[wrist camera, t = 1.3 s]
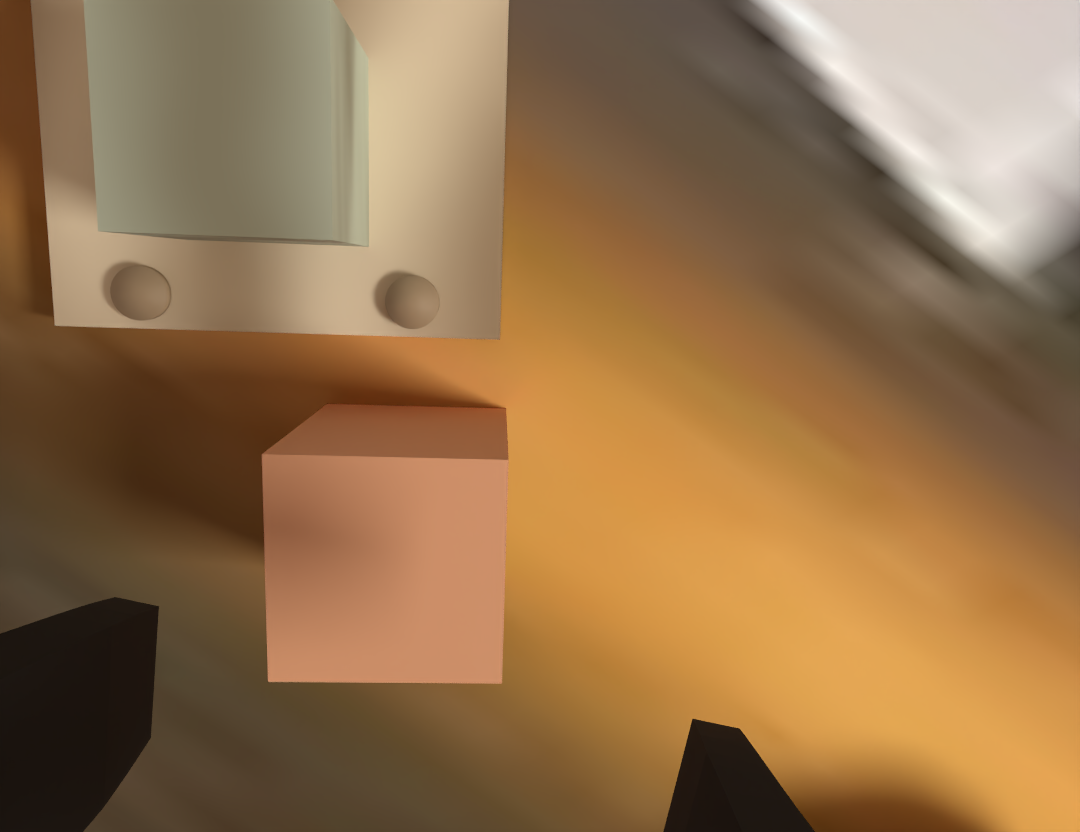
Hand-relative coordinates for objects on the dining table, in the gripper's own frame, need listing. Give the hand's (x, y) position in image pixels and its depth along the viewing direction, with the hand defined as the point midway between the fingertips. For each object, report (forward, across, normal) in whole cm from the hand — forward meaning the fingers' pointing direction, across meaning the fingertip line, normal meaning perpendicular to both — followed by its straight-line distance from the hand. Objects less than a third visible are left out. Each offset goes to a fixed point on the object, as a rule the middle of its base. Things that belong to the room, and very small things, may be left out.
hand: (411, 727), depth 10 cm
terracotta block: (+10, +2, +1) cm, 10 cm away
